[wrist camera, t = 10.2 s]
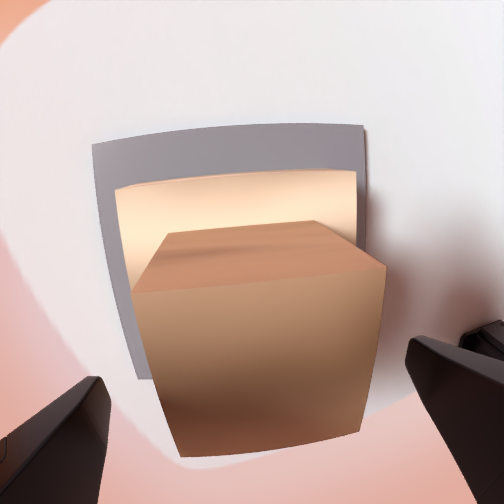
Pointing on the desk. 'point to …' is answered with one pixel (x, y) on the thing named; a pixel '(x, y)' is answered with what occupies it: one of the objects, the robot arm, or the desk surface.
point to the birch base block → (231, 206)
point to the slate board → (210, 163)
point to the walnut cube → (260, 335)
